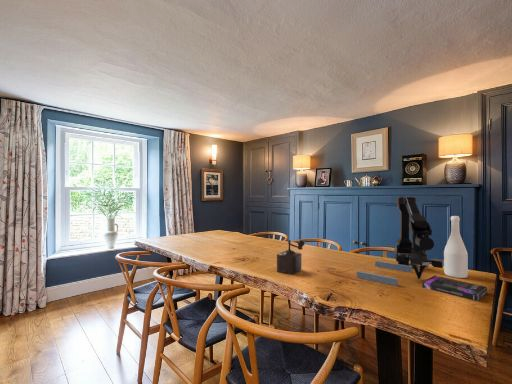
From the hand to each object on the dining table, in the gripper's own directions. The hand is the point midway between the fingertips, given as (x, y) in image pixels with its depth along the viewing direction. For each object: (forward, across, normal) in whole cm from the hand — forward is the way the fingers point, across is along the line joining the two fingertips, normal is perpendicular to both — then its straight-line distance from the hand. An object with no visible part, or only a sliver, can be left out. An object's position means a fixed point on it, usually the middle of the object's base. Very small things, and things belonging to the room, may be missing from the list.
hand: (419, 278), depth 124 cm
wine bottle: (+2, +12, +22) cm, 25 cm away
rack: (+1, -15, 0) cm, 15 cm away
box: (+2, +13, -4) cm, 14 cm away
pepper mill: (+1, -53, -26) cm, 60 cm away
